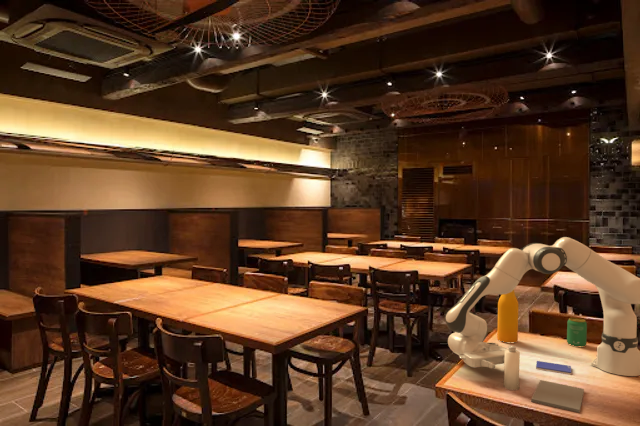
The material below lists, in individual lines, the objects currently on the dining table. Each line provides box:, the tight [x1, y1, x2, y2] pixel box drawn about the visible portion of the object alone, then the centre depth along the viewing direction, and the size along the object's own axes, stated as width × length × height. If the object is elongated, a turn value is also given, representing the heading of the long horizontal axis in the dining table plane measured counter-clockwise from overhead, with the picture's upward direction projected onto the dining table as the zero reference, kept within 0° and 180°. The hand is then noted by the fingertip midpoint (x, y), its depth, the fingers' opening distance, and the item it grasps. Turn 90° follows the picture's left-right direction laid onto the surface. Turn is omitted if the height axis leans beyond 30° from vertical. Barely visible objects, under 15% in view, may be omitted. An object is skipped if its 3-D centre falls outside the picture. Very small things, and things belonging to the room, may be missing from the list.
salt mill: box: [503, 345, 521, 391], centre depth 164 cm, size 5×5×15 cm
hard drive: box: [535, 360, 572, 375], centre depth 184 cm, size 2×8×12 cm
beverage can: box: [566, 317, 588, 347], centre depth 215 cm, size 8×8×12 cm
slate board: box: [531, 379, 585, 414], centre depth 156 cm, size 20×14×1 cm
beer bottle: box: [496, 289, 520, 343], centre depth 220 cm, size 9×9×29 cm
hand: (503, 364), depth 167 cm, fingers open, 8 cm apart
